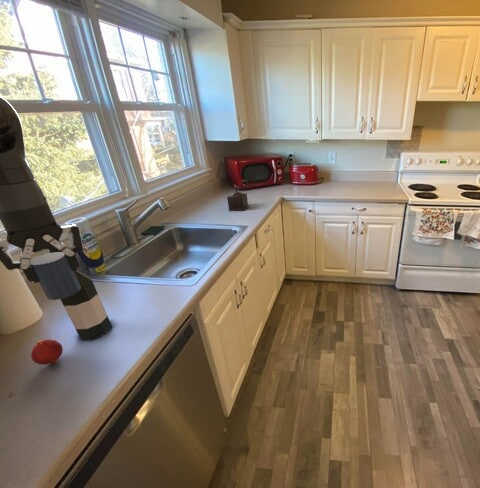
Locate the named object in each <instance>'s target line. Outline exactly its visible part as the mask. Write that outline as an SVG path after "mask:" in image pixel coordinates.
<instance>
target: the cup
mask: <svg viewBox="0 0 480 488" xmlns="http://www.w3.org/2000/svg"><path fill="white" fill-rule="evenodd" d="M29 265H30V266H31V267H32V269H33V271H34V273H35V275H36V277H37V279H38V281H39V282H38V283H39V285H40V287H41V289H42V291H43V293H44V295H45V296H46V298H47V300H49V301H56V300H60V299H63V298H66V297H69V296H71V295H73V294H75V293H77V292H78V291H79V290H80V289H81V286H80V284H79V281H78V279H77V277H76V275H75V273H74V271H73V269H72V266H71V264H70V262H69V260H68V258H67V255H66V254H65V253H64V252H54V253H50V252H49V253H45V254H41V255H39V256H36V257H33V258H31V259H30V263H29Z"/></svg>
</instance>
